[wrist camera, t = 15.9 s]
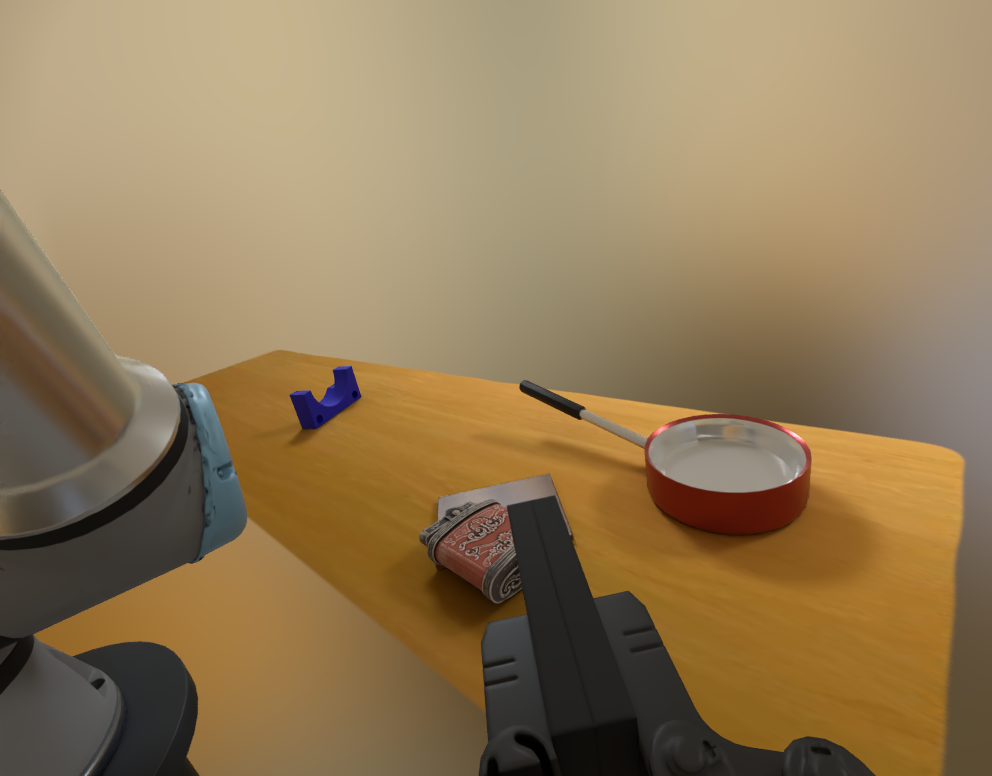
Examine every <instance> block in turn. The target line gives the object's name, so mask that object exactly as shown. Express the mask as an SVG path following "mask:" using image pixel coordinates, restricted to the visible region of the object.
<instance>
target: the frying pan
mask: <svg viewBox="0 0 992 776" xmlns="http://www.w3.org/2000/svg"><path fill="white" fill-rule="evenodd" d="M520 390H521V392H523V393H525V394H527V395H529V396H531V397H533V398H535V399H537V400H539V401H542V402H544V403H546V404H548V405H550V406H552V407H554V408H556V409H558V410H560V411H562V412H564V413H566V414H568V415H570V416H572V417H574V418H576V419H578V420H582V419H583V420H585V421H587V422H589V423H591V424H594V425H596V426H598V427H600V428H602V429H604V430H606V431H608V432H610V433H612V434H614V435H616V436H618V437H620V438H622V439H625V440H627V441H629V442H631V443H633V444H635V445H637V446H639V447H641V448H643V449H645V462H646V475H647V487H648V490H649V493H650V495H651V497H652V499H653V500H654V501H655V503H656V504H657V506H659V507H660V508H661V509H662V510H663V511H664V512H665V513H667V514H668V515H670V516H671V517H673V518H675V519H676V520H678V521H680V522H682V523H685V524H687V525H689V526H692V527H695V528H698V529H702V530H705V531H709V532H716V533H722V534H738V535H745V534H756V533H763V532H767V531H771V530H775V529H778V528H780V527H782V526H785V525H787V524H789V523H790V522H792V521H793V520H795V519H796V518H797V517H799V515H800V514H801V513H802V512H803V510H804V509H805V508H806V505H807V501H808V498H809V488H810V474H811V460H812V458H811V452H810V449H809V448H808V446H807V444H806V443H805V442H804V441H803V440H802V439H801V438H800V437H799V436H798V435H796V434H795V433H793V432H792V431H790V430H788V429H787V428H784V427H782V426H780V425H778V424H775V423H772V422H769V421H765V420H762V419H757V418H752V417H748V416H740V415H727V414H712V415H699V416H692V417H687V418H683V419H679V420H676V421H673V422H670V423H668V424H666V425H664V426H662V427H660V428H659V429H657V430H656V431H654V432H653V433H652V434H651V435H650V437H649V438H648V439H647V438H645V437H643V436H641V435H639V434H637V433H634V432H632V431H630V430H628V429H626V428H624V427H622V426H619V425H617V424H615V423H613V422H611V421H609V420H606V419H604V418H602V417H600V416H598V415H596V414H593V413H591V412H589V411H587V410H586V409H585V407H583V406H581V405H579V404H577V403H575V402H572V401H570V400H568V399H566V398H564V397H562V396H559V395H557V394H555V393H553V392H551V391H549V390H546V389H544V388H542V387H540V386H538V385H535V384H533V383H531V382H529V381H526V380H524V381H522V382H521V383H520Z"/></svg>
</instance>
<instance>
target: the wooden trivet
mask: <svg viewBox="0 0 992 776" xmlns="http://www.w3.org/2000/svg"><path fill="white" fill-rule="evenodd" d="M553 495H555V496H556V499H557V502H558V504H559V507H560V510H561V513H562V515H563V518H564V521H565V523H566V526H567V529H568V532H569V534H570V537H571V540H573V534H572V531H571V529H570V526H569V523H568V521H567V518H566V516H565V513H564V510H563V508H562V505H561V502H560V500H559V497H558V494H557V492H556V489H555V487H554V484H553V481H552V479H551V476H550V474H546V475H541V476H536V477H532V478H527V479H522V480H518V481H513V482H508V483H504V484H499V485H494V486H490V487H485V488H481V489H476V490H471V491H467V492H462V493H457V494H453V495H448V496H443V497H439V498H438V519H437V521H438V520H440V519H442V518H443V517H445V511H446V510H448V509H449V508H451V507H460V506H462V505H463V504H465V503H467V502H468V501H471V502H473V503H475V504H477V503H480V502H482V501H485V500H487V499H493V500H495V501H497V502H499V503H500V504H501V505H502V506H503V507H505V508H507V506H506V505H511V504H516V503H520V502H525V501H530V500H534V499H539V498H544V497H548V496H553ZM436 567H437V569H443V568H447V567H445V566H444V565H439V564H437V563H436Z"/></svg>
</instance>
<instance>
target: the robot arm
mask: <svg viewBox="0 0 992 776" xmlns="http://www.w3.org/2000/svg"><path fill="white" fill-rule="evenodd" d="M506 506H507V511H508V516H509V522H510V527H511V532H512V537H513V542H514V548H515V553H516V558H517V563H518V568H519V574H520V579H521V584H522V589H523V594H524V600H525V605H526V610H527V614H526V615H521V616H516V617H512V618H507V619H503V620H498V621H493V622H489V623H488V624H487V627H486V630H485V633H484V636H483V639H482V641H481V651H482V664H483V678H484V691H485V705H486V719H487V732H488V744H487V746H486V748H485V750H484V752H483V755H482V757H481V761H480V769H479V776H875V775H874V774H873V773H872V772H871V771H870V770H869V769H868V768H867V767H866V766H865V765H864V764H863V763H862V762H861V761H860V760H859V759H858V758H856V757H855V756H854V755H853V754H851V753H850V752H849V751H848V750H846V749H845V748H844V747H842V746H839V745H837V744H835V743H833V742H831V741H828V740H826V739H822V738H815V737H808V736H807V737H804V738H800V739H796V740H793V741H792V742H791V743H790V745H789V746H788V747H787V748H786V749H785V750H784V752H778V751H772V750H765V749H758V748H751V747H746V746H742V745H739V744H735V743H733V742H731V741H729V740H727V739H725V738H723V737H721V736H720V735H719V734H717V733H716V732H715V731H713V730H712V729H711V728H710V727H709V726H708V725H707V724H706V723H705V722H704V721H703V720H702V718H701V717H700V715H699V713H698V712H697V710H696V709H695V707H694V705H693V703H692V701H691V699H690V697H689V694H688V692H687V690H686V688H685V686H684V684H683V682H682V680H681V678H680V676H679V674H678V672H677V670H676V668H675V666H674V664H673V662H672V660H671V658H670V656H669V654H668V652H667V650H666V648H665V646H664V645H663V642H662V640H661V637H660V635H659V633H658V631H657V629H655V625H654V623H653V621H652V619H651V617H650V615H649V613H648V611H647V609H646V607H645V605H643V604H642V603H641V602H640V601H639V600H638V599H637V598H636V597H635V596H634V595H632V594H631V593H630V592H629V591H625V592H621V593H616V594H612V595H607V596H602V597H598V598H593V597H592V594H591V591H590V589H589V586H588V583H587V580H586V578H585V575H584V572H583V570H582V567H581V564H580V561H579V559H578V556H577V553H576V551H575V548H574V545H573V542H572V540H571V537H570V534H569V532H568V529H567V526H566V523H565V521H564V518H563V515H562V513H561V510H560V507H559V504H558V502H557V499H556V496H555V495H553V496H548V497H544V498H539V499H534V500H530V501H525V502H520V503H516V504H511V505H506ZM246 523H247V510H246V505H245V501H244V497H243V494H242V490H241V487H240V484H239V480H238V477H237V474H236V471H235V469H234V467H233V462H232V459H231V456H230V452H229V448H228V445H227V442H226V439H225V436H224V433H223V430H222V427H221V424H220V421H219V419H218V416H217V413H216V410H215V408H214V405H213V402H212V400H211V397H210V395H209V393H208V391H207V389H206V388H205V387H204V386H203V385H201V384H198V383H189V384H183V383H178V384H174V385H172V384H171V383H170V382H169V381H168V380H167V379H166V378H165V376H164V375H163V374H162V373H161V372H159V371H158V370H157V369H155V368H154V367H152V366H150V365H148V364H146V363H144V362H141V361H138V360H135V359H132V358H128V357H123V356H118V355H115V354H114V353H113V351H112V350H111V348H110V347H109V346H108V344H107V343H106V341H105V340H104V338H103V337H102V335H101V334H100V332H99V331H98V330H97V328H96V327H95V325H94V324H93V322H92V321H91V319H90V318H89V317H88V315H87V314H86V312H85V311H84V309H83V308H82V306H81V305H80V303H79V302H78V301H77V299H76V298H75V296H74V295H73V293H72V292H71V290H70V289H69V287H68V286H67V285H66V283H65V282H64V280H63V279H62V278H61V276H60V274H59V273H58V272H57V270H56V269H55V267H54V266H53V265H52V263H51V261H50V260H49V259H48V257H47V256H46V254H45V253H44V251H43V250H42V248H41V247H40V246H39V244H38V243H37V241H36V240H35V238H34V237H33V236H32V234H31V232H30V231H29V230H28V228H27V227H26V225H25V224H24V222H23V221H22V219H21V218H20V217H19V215H18V214H17V212H16V211H15V209H14V208H13V206H12V205H11V204H10V202H9V201H8V199H7V198H6V196H5V195H4V193H3V192H2V190H1V189H0V776H102V775H103V774H104V772H105V771H106V769H107V767H108V766H109V764H110V762H111V760H112V759H113V757H114V755H115V753H116V751H117V749H118V747H119V744H120V742H121V739H122V737H123V734H124V731H125V728H126V723H127V718H128V706H127V701H126V698H125V696H124V695H123V693H122V692H121V690H120V689H119V687H118V686H117V685H116V683H115V682H114V681H113V680H112V679H111V678H110V677H108V676H107V675H106V674H105V673H104V672H102V671H101V670H99V669H97V668H94V667H92V666H90V665H88V664H86V663H84V662H82V661H80V660H78V659H76V658H74V657H72V656H69V655H67V654H65V653H63V652H61V651H59V650H57V649H54V648H53V647H51V646H49V645H46V644H44V643H42V642H40V641H39V640H38V639H36V637H35V636H34V635H33V634H35V633H37V632H39V631H41V630H43V629H45V628H48V627H50V626H52V625H54V624H56V623H58V622H61V621H63V620H65V619H67V618H69V617H71V616H74V615H76V614H78V613H80V612H82V611H84V610H87V609H89V608H91V607H93V606H95V605H97V604H100V603H102V602H104V601H106V600H108V599H110V598H112V597H115V596H117V595H119V594H121V593H123V592H125V591H128V590H130V589H132V588H134V587H136V586H139V585H141V584H143V583H145V582H147V581H149V580H151V579H153V578H156V577H158V576H160V575H162V574H165V573H167V572H169V571H171V570H173V569H175V568H178V567H180V566H182V565H184V564H186V563H191V564H192V563H195V562H198V561H200V560H201V559H202V558H203V557H204V556H205V555H206V554H208V553H209V552H212V551H213V550H215V549H217V548H219V547H221V546H223V545H225V544H227V543H229V542H231V541H233V540H234V539H236V538H237V537H238V536H239V535H240V534H241V533H242V531H243V530H244V528H245V526H246Z"/></svg>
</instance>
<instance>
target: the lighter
mask: <svg viewBox="0 0 992 776" xmlns="http://www.w3.org/2000/svg"><path fill="white" fill-rule="evenodd" d="M419 539H420V542H421V543H423V544H424V545H426V546H427V547H428V548H427V551H428V556H429V558H430V559H431V560H432V561H434V562H435V563H437V564H439V565H444V566H445V567H447V568H448V569H450V570H451V571H453V572H454V573H456V574H457V575H459V576H460V577H462V578H463V579H465V580H466V581H468V582H469V583H471V584H472V585H474V586H475V587H477V588H478V589H480V590H481V591H483V594H484V595H485V596H486V597H487V598H488V599H490V600H491V601H493V602H494V603H501V602H503V601H504V600H506V599H508V598H509V597H511V596H512V595H514V594H515V593H517V592H518V591H519V590H521V589H522V584H521V579H520V574H519V568H518V563H517V558H516V553H515V548H514V542H513V537H512V532H511V527H510V522H509V516H508V511H507V508H505V507H503V506H502V505H501V504H500V503H499V502H497V501H495V500H493V499H487V500H485V501H482V502H480V503H477V504H475V503H473V502H471V501H468V502H467V503H465V504H463V505H462V506H460V507H451V508H449V509H448V510H446V511H445V517H443V518H442V519H440V520H438V521H437V522H435V523H434V524H432V525H431V526H429V527H428V528H426V529H424V530H423V531H421V532H420V534H419Z"/></svg>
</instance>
